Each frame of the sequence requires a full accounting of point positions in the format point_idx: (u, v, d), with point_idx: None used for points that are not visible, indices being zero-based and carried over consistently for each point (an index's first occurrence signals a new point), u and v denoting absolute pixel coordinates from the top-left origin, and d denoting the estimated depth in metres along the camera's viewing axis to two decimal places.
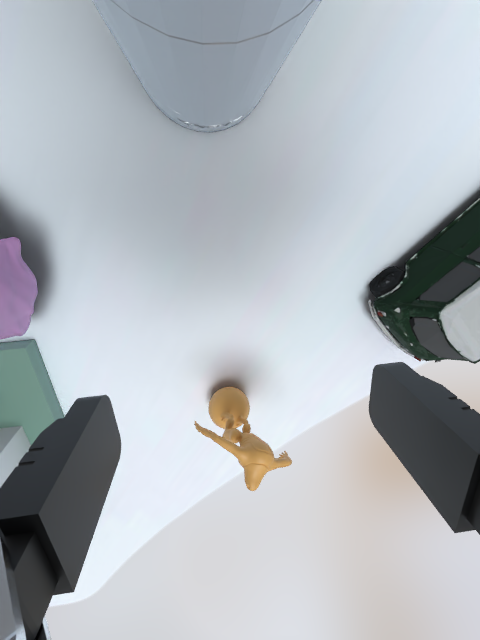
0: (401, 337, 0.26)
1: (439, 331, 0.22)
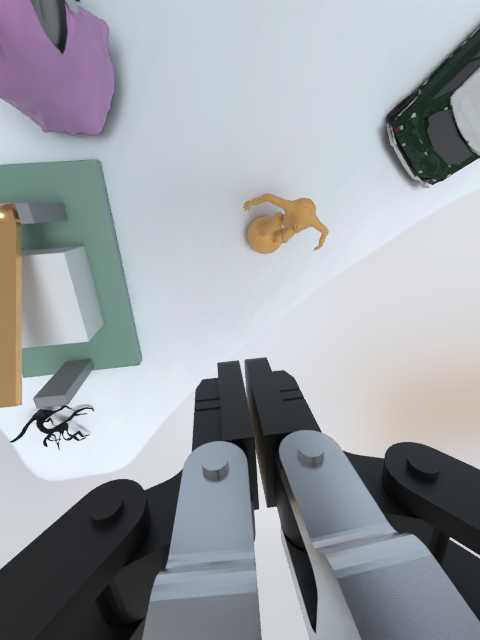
0: (416, 149, 0.29)
1: (450, 120, 0.26)
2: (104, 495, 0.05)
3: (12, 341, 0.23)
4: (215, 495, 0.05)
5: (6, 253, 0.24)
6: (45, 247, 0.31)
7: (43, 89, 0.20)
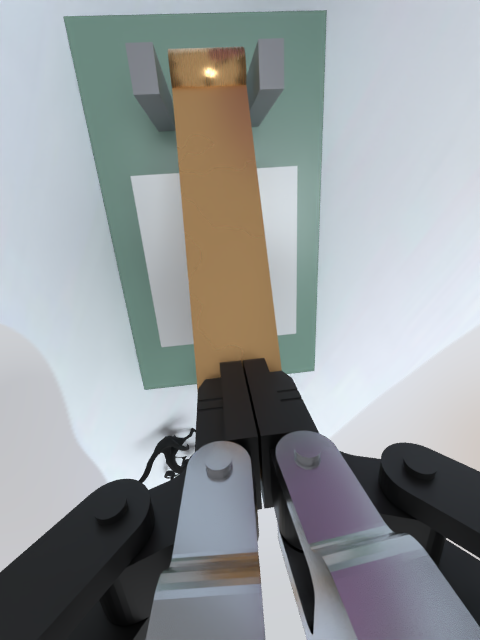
0: None
1: None
2: (108, 495, 0.05)
3: (269, 329, 0.11)
4: (219, 495, 0.05)
5: (234, 147, 0.12)
6: None
7: None
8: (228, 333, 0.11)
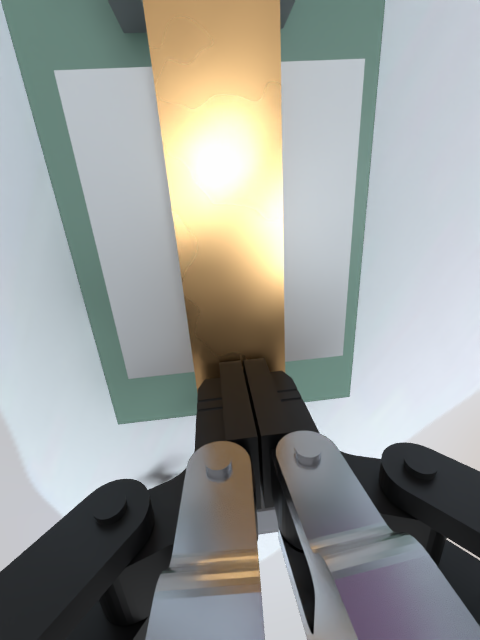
0: None
1: None
2: (108, 495, 0.05)
3: (277, 335, 0.10)
4: (218, 495, 0.05)
5: (247, 52, 0.07)
6: None
7: None
8: (230, 339, 0.09)
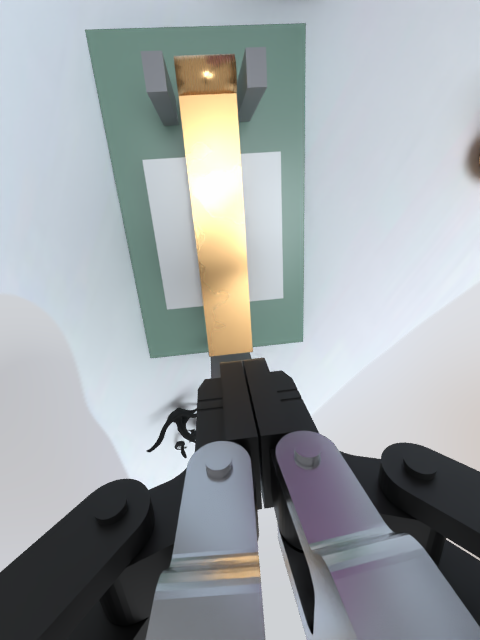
0: None
1: None
2: (108, 495, 0.05)
3: (244, 282, 0.19)
4: (218, 495, 0.05)
5: (226, 154, 0.16)
6: None
7: None
8: (221, 284, 0.19)
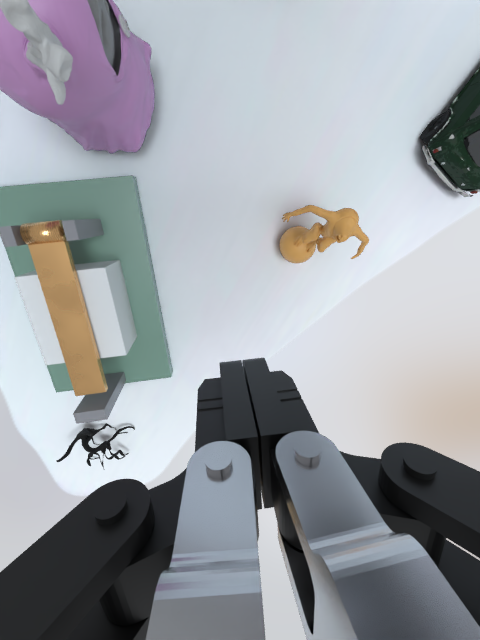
0: (458, 166, 0.30)
1: None
2: (108, 495, 0.05)
3: (91, 348, 0.29)
4: (219, 495, 0.05)
5: (64, 274, 0.26)
6: (81, 262, 0.32)
7: (96, 110, 0.21)
8: (75, 350, 0.29)
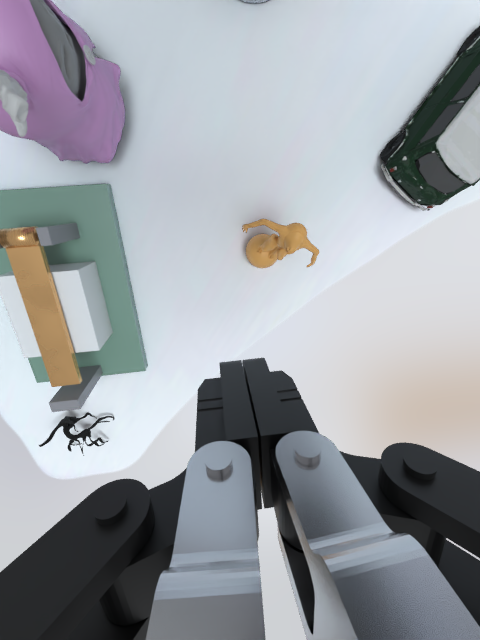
0: (412, 184, 0.33)
1: (439, 161, 0.29)
2: (108, 495, 0.05)
3: (65, 343, 0.31)
4: (219, 496, 0.05)
5: (39, 276, 0.29)
6: (59, 263, 0.34)
7: (64, 131, 0.23)
8: (50, 345, 0.31)
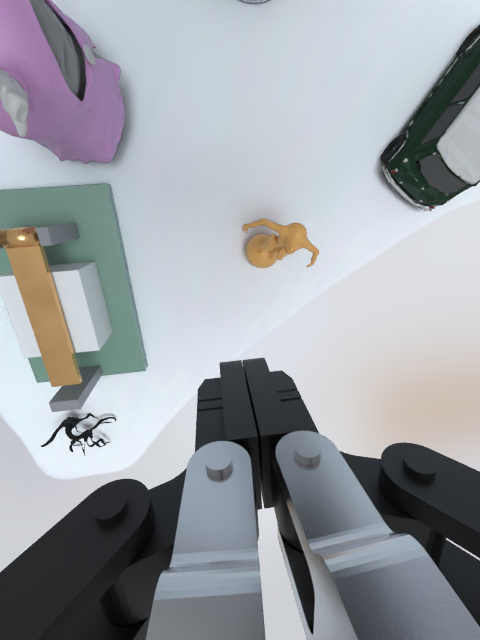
0: (413, 185, 0.33)
1: (440, 162, 0.29)
2: (108, 495, 0.05)
3: (65, 343, 0.31)
4: (219, 496, 0.05)
5: (39, 276, 0.29)
6: (59, 263, 0.34)
7: (64, 130, 0.23)
8: (50, 345, 0.31)
